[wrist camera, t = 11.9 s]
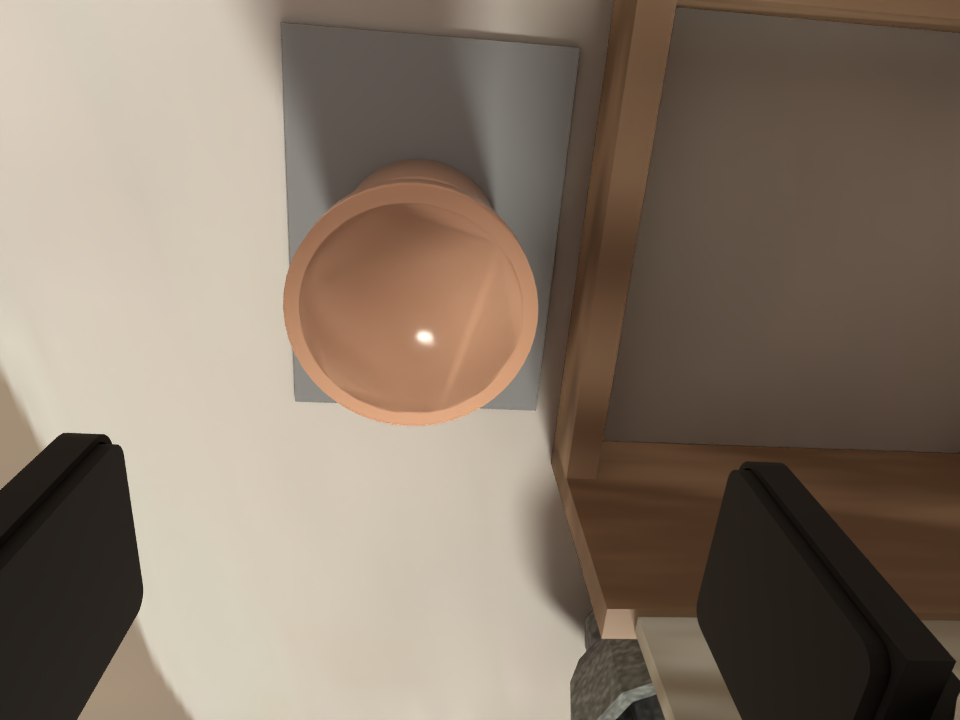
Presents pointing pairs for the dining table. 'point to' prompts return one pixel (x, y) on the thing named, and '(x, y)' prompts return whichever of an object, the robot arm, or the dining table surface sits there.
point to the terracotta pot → (411, 297)
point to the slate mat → (431, 137)
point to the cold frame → (705, 468)
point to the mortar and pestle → (612, 680)
